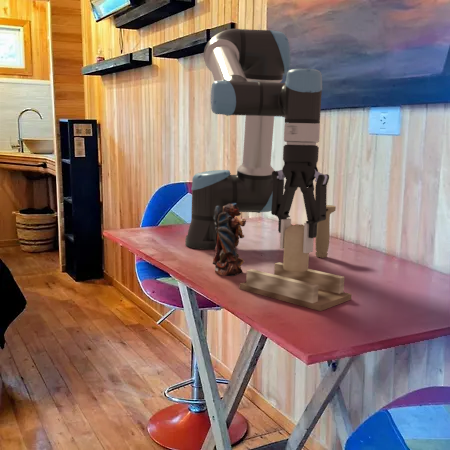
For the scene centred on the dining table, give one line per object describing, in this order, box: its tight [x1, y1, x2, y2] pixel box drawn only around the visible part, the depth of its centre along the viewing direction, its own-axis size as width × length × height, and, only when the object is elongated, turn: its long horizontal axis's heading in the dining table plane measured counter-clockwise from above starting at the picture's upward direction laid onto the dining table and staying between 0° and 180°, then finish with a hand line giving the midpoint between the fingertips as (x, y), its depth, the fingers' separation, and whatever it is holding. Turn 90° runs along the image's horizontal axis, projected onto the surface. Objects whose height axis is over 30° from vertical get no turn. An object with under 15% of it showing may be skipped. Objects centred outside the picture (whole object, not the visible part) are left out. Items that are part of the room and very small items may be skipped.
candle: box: [282, 223, 310, 272], centre depth 125 cm, size 6×6×10 cm
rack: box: [239, 261, 353, 312], centre depth 126 cm, size 22×12×5 cm, turn 47°
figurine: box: [212, 203, 247, 277], centre depth 143 cm, size 11×9×18 cm
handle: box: [315, 204, 337, 259], centre depth 163 cm, size 5×6×15 cm
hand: (296, 249), depth 125 cm, fingers closed on candle, 5 cm apart
